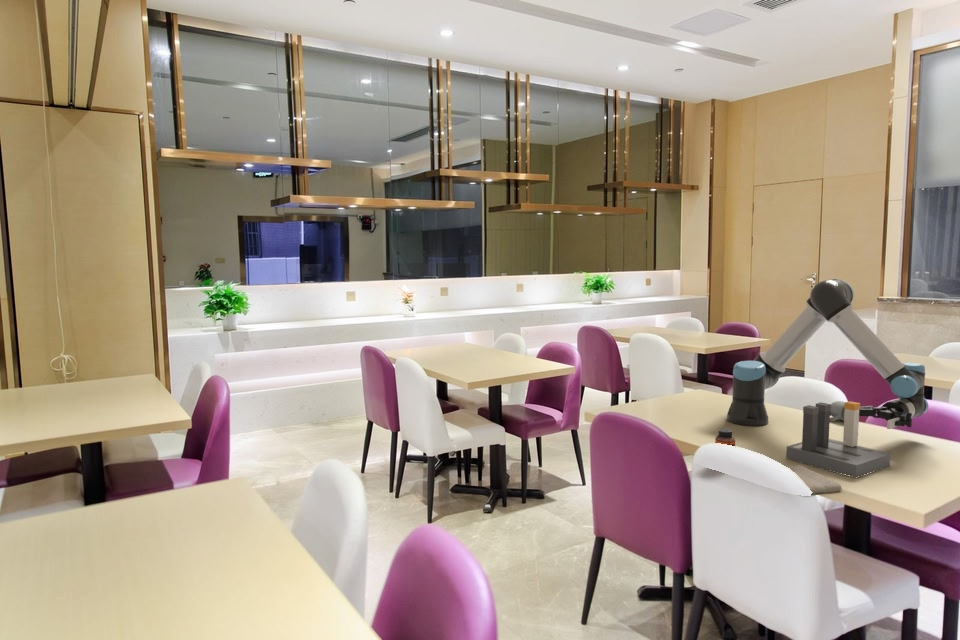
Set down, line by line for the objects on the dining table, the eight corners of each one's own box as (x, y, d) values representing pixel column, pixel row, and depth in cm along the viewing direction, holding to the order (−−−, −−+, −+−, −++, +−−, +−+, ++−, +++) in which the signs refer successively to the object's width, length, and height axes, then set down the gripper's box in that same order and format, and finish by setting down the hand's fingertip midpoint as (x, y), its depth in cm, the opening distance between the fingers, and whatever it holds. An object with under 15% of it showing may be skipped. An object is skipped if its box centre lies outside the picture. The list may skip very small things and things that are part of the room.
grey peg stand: (786, 458, 206) (788, 404, 204) (820, 447, 217) (822, 396, 215) (856, 478, 188) (859, 419, 186) (889, 465, 198) (893, 409, 196)
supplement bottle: (735, 463, 202) (736, 428, 200) (734, 469, 196) (735, 433, 195) (715, 461, 204) (716, 426, 203) (713, 466, 199) (714, 431, 198)
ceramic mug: (843, 417, 257) (844, 398, 256) (858, 422, 249) (859, 403, 248) (819, 418, 255) (820, 400, 254) (833, 424, 247) (834, 404, 246)
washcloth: (798, 471, 195) (798, 461, 195) (843, 493, 178) (844, 482, 177) (764, 475, 192) (765, 465, 192) (807, 497, 175) (808, 486, 175)
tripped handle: (842, 444, 206) (844, 402, 205) (847, 442, 208) (850, 401, 206) (852, 447, 203) (854, 404, 202) (857, 445, 205) (860, 403, 204)
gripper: (937, 429, 211) (907, 440, 199) (859, 413, 231) (827, 422, 220) (939, 407, 210) (908, 417, 198) (860, 393, 231) (829, 401, 219)
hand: (866, 420), depth 209 cm, fingers open, 13 cm apart
